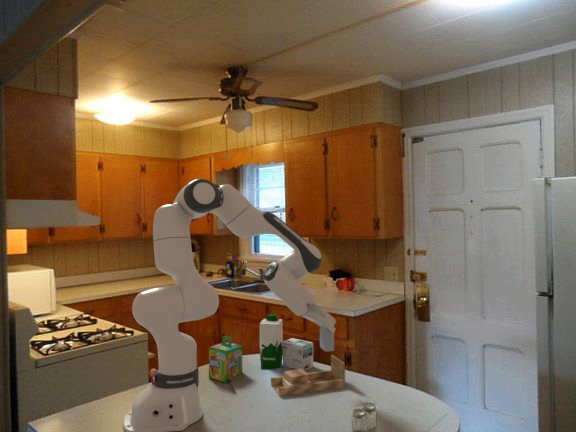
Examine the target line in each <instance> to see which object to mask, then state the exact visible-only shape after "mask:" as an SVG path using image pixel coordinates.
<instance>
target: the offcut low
mask: <svg viewBox="0 0 576 432" xmlns="http://www.w3.org/2000/svg"><path fill="white" fill-rule="evenodd" d="M310 383H311V382H310V381H307V382H302V383H297V384H290V383H289V382H288V381H287V380H285V379H284V378H282V385H283V387H288V386H295V385H302V384H310Z"/></svg>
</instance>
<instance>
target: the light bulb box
mask: <svg viewBox="0 0 576 432" xmlns="http://www.w3.org/2000/svg"><path fill="white" fill-rule="evenodd" d="M282 347H283V356H282V369H284V368H291V369H293V370H295V369H302V370H303V371H305V372H306V371H307V370H310V369H313V368H314V342H313V341H309V340H308V341H307V340H303V339H298V338H294V337H291V338H289V339H285V340H283V341H282Z"/></svg>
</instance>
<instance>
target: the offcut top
mask: <svg viewBox="0 0 576 432" xmlns="http://www.w3.org/2000/svg"><path fill="white" fill-rule="evenodd" d="M308 373H309V372H306V370H305V371H303V370H302V369H291V370H286V371H283V376H284V379H285V380H287V381H288V382H289V383H290V384H297V383H302V382H307V381H309V374H308Z"/></svg>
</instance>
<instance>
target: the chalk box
mask: <svg viewBox="0 0 576 432" xmlns="http://www.w3.org/2000/svg"><path fill="white" fill-rule="evenodd" d="M242 373H243V345H241V344H238V343H234V342H233V337H231V336H226V335H223V336H222V339H221V343H217V344H214V345H212V346H209V347H208V378H209V379H212V380H216V381H219V382H222V383H225V384H228V383H229V382H231V379H232V378H235V377H236V376H238V375H240V374H242Z"/></svg>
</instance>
